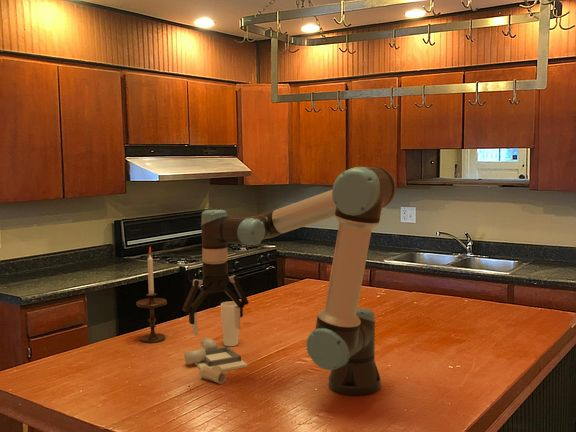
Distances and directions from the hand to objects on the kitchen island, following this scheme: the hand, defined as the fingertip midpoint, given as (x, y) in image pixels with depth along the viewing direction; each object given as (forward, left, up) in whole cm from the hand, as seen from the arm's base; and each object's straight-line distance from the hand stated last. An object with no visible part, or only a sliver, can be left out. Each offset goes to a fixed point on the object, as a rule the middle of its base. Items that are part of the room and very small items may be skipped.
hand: (216, 331), depth 182 cm
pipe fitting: (0, +1, -15) cm, 15 cm away
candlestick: (+49, +7, -15) cm, 51 cm away
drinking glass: (+29, -16, -15) cm, 36 cm away
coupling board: (+16, -3, -15) cm, 22 cm away
